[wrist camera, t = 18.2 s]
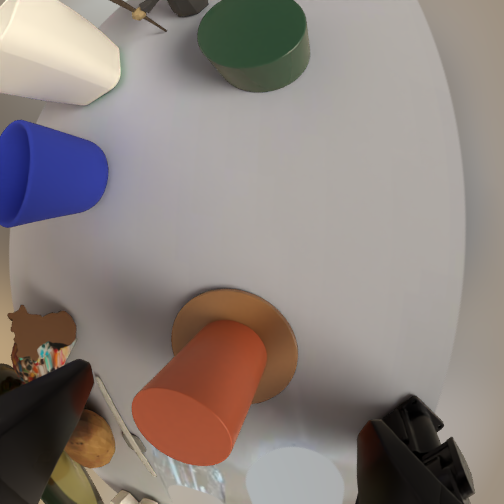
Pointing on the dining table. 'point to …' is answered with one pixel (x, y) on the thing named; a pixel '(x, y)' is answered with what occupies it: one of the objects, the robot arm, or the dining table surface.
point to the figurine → (40, 342)
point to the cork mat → (253, 316)
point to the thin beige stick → (126, 430)
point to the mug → (47, 174)
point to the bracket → (129, 499)
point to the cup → (54, 54)
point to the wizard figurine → (182, 3)
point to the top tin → (203, 394)
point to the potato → (91, 441)
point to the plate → (58, 464)
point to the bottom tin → (256, 42)
